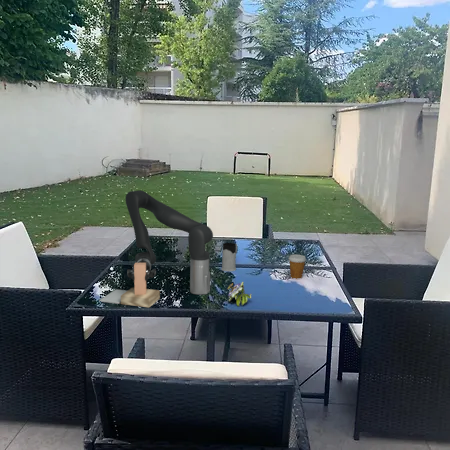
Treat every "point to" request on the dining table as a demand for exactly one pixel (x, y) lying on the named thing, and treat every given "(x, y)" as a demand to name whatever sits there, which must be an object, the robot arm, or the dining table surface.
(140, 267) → the tall tan block
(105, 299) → the mat
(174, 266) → the dining table surface
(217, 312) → the dining table surface
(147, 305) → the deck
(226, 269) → the glass holder
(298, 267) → the disposable coffee cup
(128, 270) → the robot arm
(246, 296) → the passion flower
